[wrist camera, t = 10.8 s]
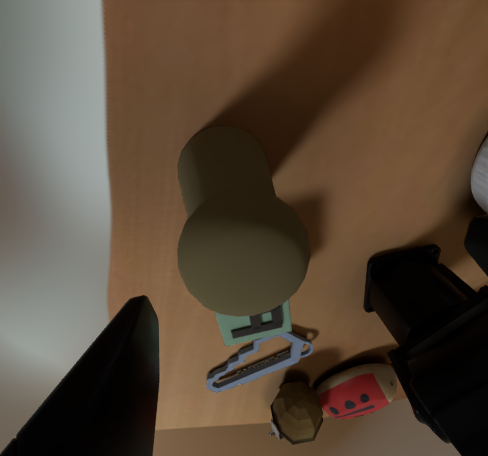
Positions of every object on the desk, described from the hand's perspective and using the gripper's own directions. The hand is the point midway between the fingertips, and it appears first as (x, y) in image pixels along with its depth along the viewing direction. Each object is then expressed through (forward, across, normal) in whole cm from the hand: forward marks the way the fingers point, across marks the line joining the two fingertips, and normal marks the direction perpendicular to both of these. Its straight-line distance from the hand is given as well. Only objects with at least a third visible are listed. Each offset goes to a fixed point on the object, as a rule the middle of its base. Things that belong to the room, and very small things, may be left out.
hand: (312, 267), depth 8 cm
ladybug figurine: (+13, -8, +30) cm, 34 cm away
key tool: (+13, +4, +19) cm, 23 cm away
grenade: (+9, -1, +25) cm, 27 cm away
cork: (+13, +2, +2) cm, 13 cm away
